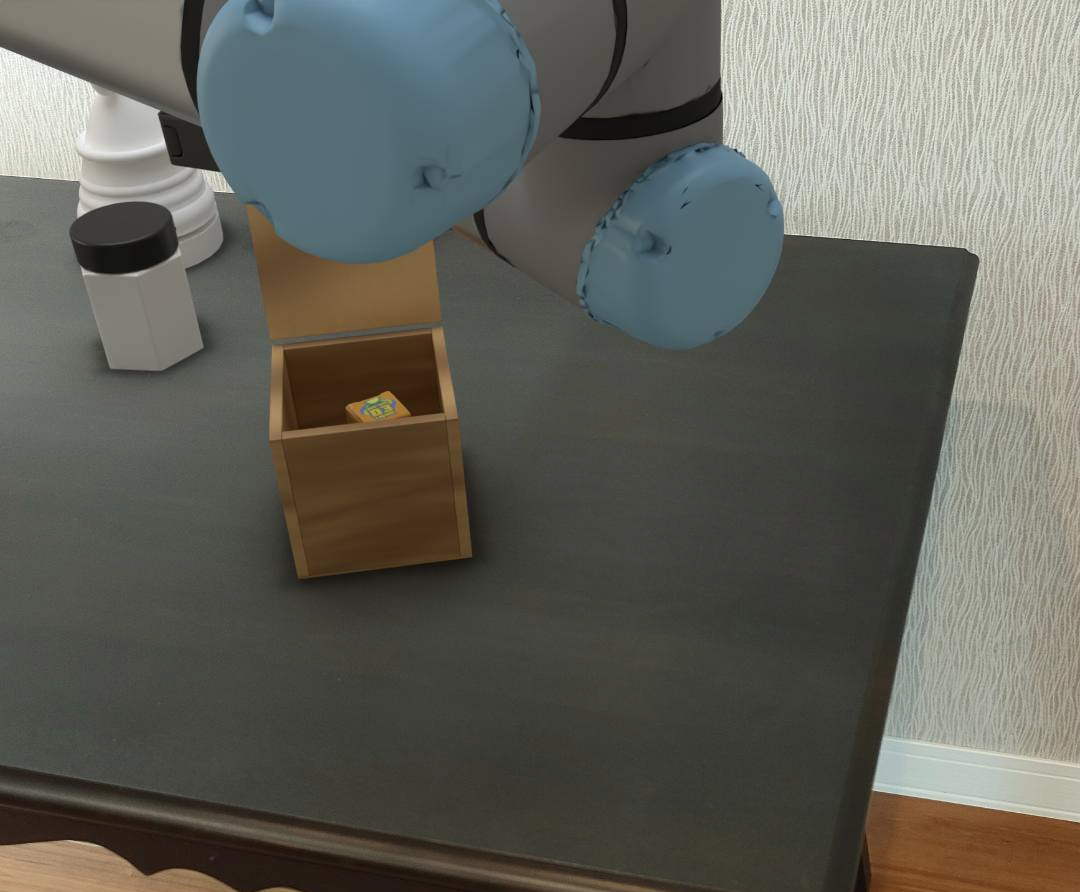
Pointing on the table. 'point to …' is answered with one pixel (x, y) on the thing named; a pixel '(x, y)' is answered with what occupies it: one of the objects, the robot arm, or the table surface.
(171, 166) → the honey pot
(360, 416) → the supplement box
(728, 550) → the table surface
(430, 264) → the wooden box lid
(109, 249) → the jar
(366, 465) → the brown wooden open box
